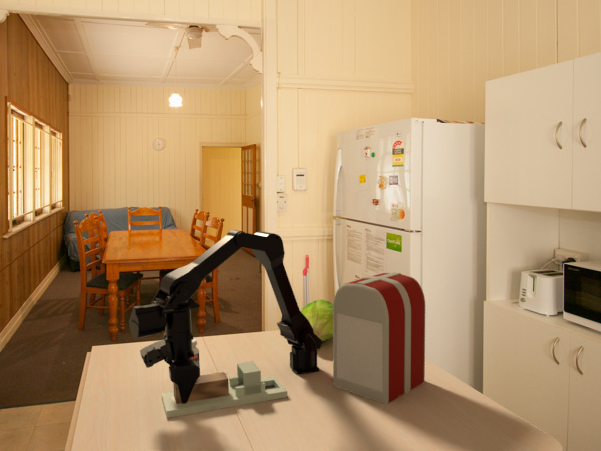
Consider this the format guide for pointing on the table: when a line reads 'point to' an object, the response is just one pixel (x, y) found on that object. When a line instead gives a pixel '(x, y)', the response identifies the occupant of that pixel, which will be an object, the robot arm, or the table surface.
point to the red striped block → (379, 336)
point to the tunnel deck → (231, 392)
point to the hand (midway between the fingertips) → (181, 395)
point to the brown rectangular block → (206, 388)
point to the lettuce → (320, 318)
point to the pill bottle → (195, 351)
